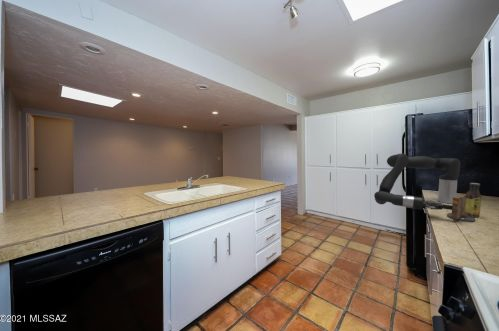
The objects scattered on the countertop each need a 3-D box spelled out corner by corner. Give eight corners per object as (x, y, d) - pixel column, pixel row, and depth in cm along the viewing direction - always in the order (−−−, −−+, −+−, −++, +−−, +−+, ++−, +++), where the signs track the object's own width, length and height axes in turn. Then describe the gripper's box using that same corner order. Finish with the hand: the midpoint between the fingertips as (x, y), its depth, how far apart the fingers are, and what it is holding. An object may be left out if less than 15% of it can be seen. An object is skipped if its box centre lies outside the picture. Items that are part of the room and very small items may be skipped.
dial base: (445, 213, 117) (445, 211, 116) (472, 217, 109) (472, 215, 109) (448, 219, 108) (448, 216, 108) (477, 223, 101) (478, 221, 101)
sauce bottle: (475, 218, 109) (478, 184, 107) (461, 214, 115) (463, 182, 113) (482, 216, 110) (485, 184, 109) (467, 213, 116) (470, 182, 115)
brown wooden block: (456, 213, 112) (458, 194, 111) (467, 215, 108) (469, 195, 107) (448, 217, 106) (449, 197, 104) (459, 220, 102) (461, 198, 101)
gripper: (412, 198, 111) (455, 204, 100) (413, 194, 121) (451, 199, 110) (412, 210, 112) (454, 217, 101) (412, 205, 122) (450, 211, 110)
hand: (453, 207), depth 105 cm, fingers closed
